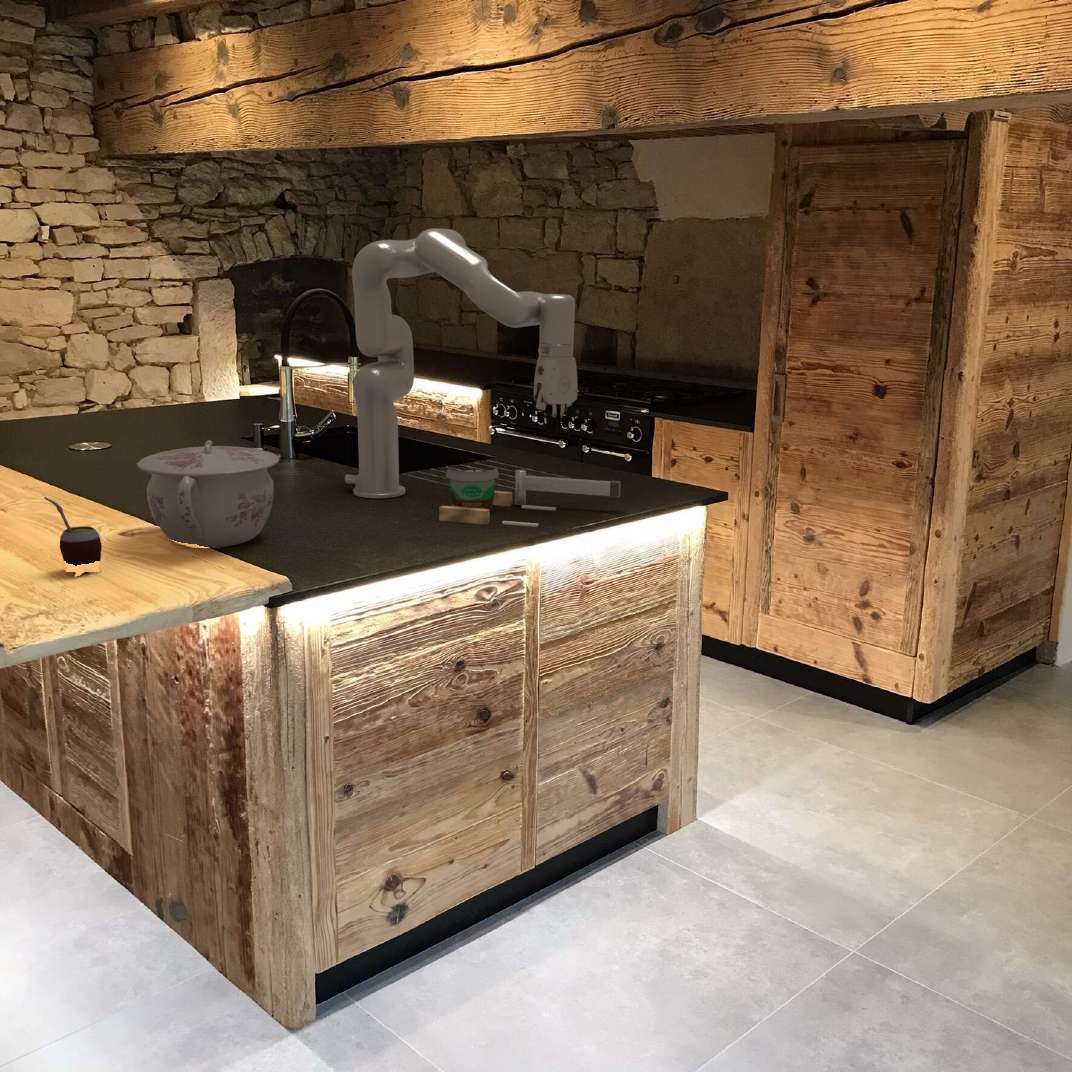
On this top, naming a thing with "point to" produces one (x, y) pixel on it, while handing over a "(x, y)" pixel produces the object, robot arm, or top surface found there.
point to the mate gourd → (79, 542)
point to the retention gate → (562, 486)
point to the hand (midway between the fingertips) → (553, 433)
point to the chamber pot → (210, 493)
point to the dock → (474, 510)
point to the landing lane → (529, 523)
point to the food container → (472, 488)
